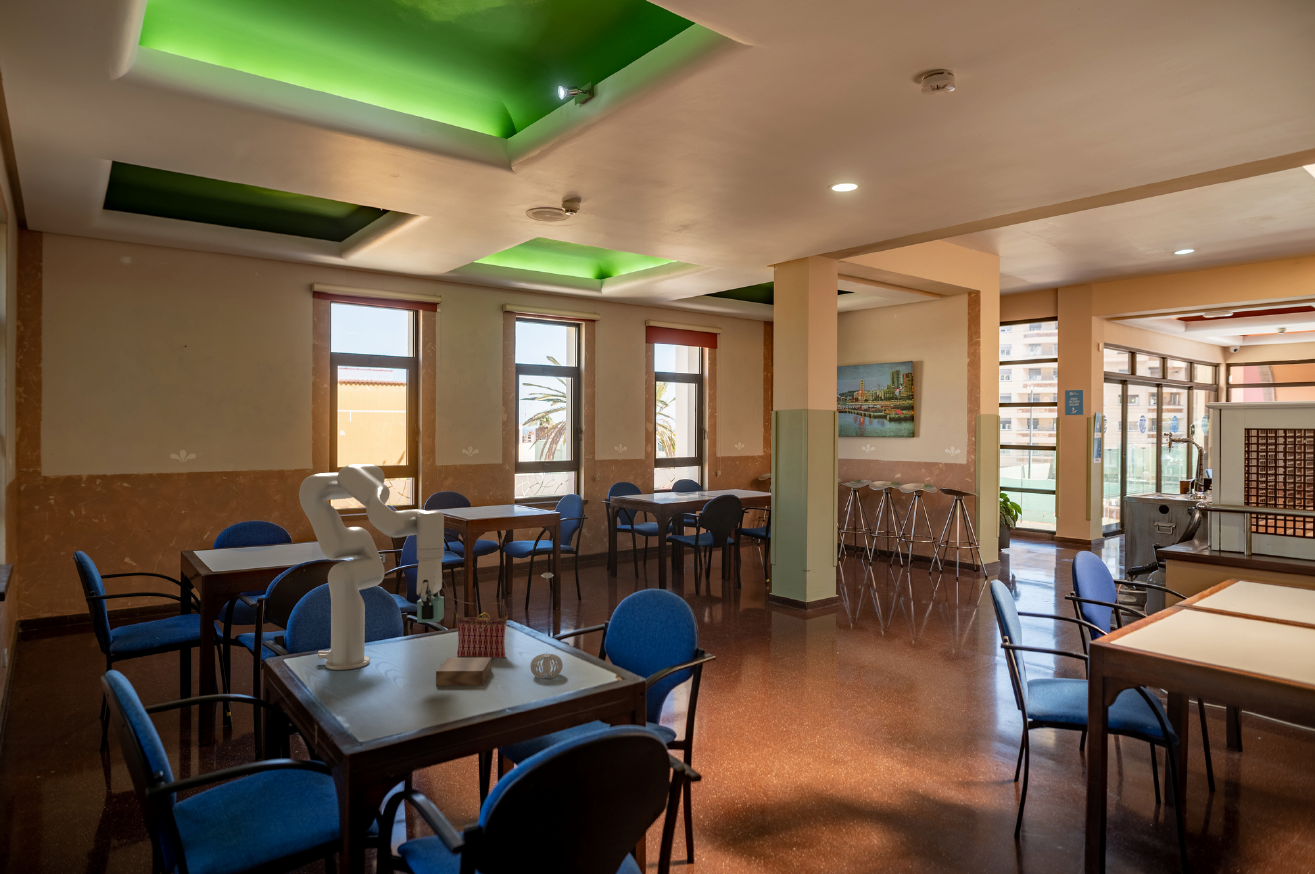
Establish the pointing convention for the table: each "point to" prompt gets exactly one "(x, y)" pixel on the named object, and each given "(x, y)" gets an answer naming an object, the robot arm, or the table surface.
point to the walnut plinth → (463, 671)
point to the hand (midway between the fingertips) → (430, 615)
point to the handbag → (480, 635)
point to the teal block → (437, 610)
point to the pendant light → (546, 658)
